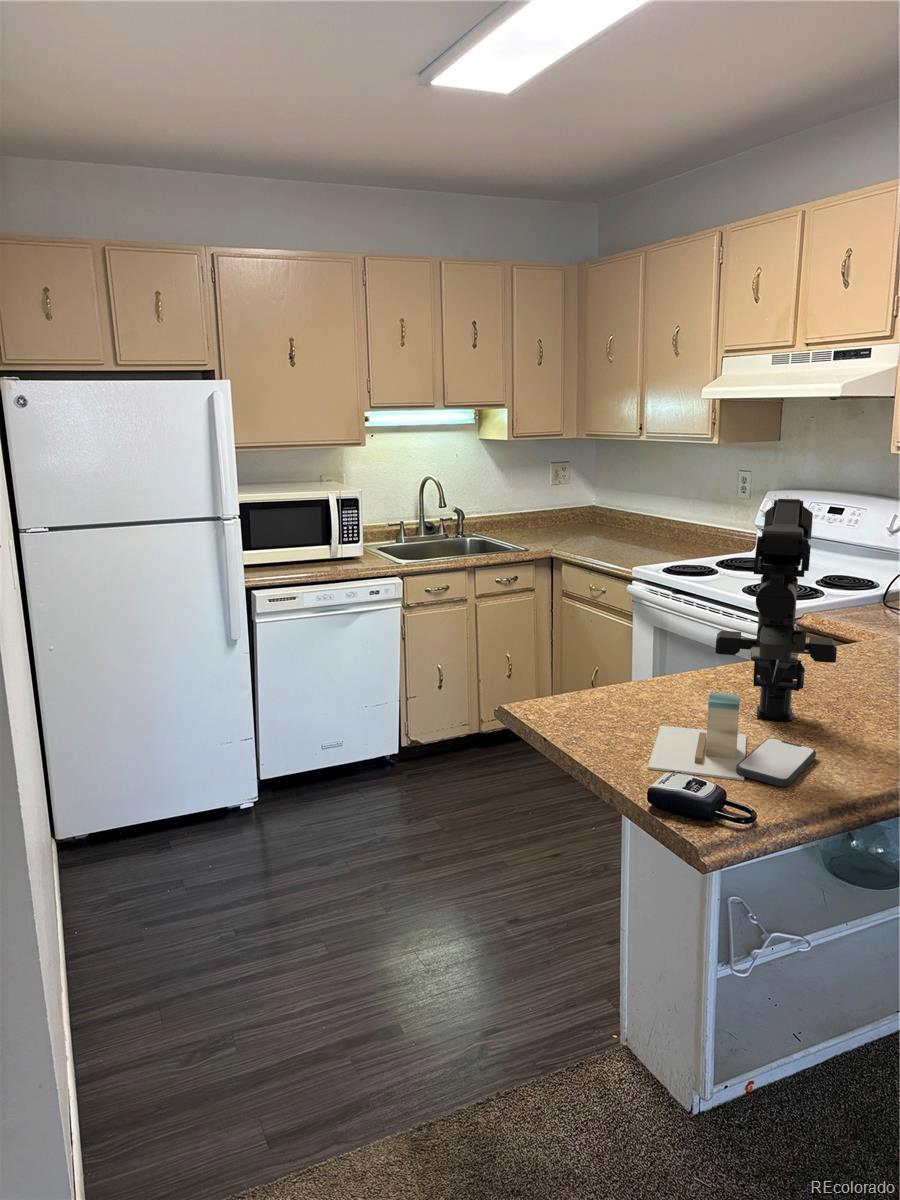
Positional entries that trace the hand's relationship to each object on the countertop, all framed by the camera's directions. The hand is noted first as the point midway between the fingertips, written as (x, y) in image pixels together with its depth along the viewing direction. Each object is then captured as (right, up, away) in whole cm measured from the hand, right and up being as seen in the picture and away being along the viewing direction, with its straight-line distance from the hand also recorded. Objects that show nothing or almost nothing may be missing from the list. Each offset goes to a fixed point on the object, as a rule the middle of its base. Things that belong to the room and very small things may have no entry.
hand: (771, 694), depth 146 cm
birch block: (-7, -11, +5) cm, 14 cm away
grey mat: (-10, -11, +6) cm, 16 cm away
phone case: (+1, -12, 0) cm, 12 cm away
